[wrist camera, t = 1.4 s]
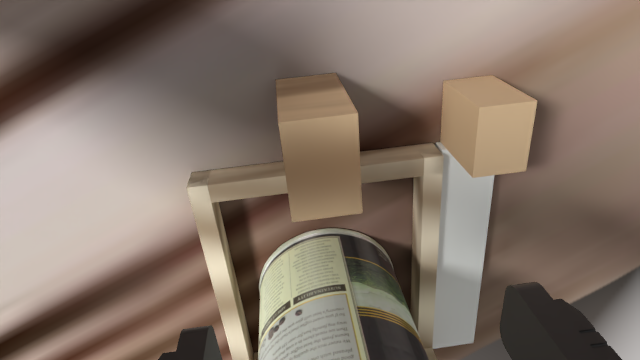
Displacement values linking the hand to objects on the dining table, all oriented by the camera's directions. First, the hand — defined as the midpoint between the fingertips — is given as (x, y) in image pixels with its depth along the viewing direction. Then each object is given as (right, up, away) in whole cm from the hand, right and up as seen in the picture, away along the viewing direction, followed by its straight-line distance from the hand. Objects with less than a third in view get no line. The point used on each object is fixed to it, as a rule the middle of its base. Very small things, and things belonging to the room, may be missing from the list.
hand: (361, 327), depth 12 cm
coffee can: (-1, -4, +21) cm, 21 cm away
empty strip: (+9, +1, +19) cm, 21 cm away
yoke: (-1, 0, +19) cm, 19 cm away
